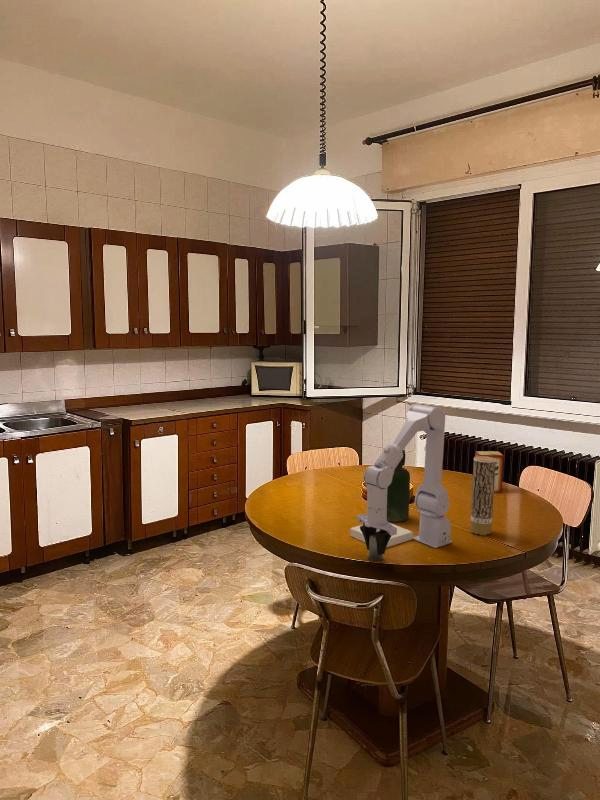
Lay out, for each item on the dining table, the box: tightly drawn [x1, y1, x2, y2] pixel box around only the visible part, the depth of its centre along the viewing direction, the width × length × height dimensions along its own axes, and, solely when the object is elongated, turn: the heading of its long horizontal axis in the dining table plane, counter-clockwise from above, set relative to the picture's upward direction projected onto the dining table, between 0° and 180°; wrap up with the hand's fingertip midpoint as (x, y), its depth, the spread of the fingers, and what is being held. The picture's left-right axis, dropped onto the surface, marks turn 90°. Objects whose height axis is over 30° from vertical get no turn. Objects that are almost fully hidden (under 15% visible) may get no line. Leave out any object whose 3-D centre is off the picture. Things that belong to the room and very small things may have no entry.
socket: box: [349, 522, 414, 549], centre depth 194 cm, size 14×14×2 cm
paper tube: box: [469, 456, 496, 536], centre depth 197 cm, size 7×7×25 cm
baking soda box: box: [474, 450, 505, 494], centre depth 245 cm, size 10×6×16 cm
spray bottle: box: [386, 448, 411, 523], centre depth 211 cm, size 10×10×25 cm
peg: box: [368, 533, 384, 562], centre depth 177 cm, size 4×4×7 cm
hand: (375, 551), depth 177 cm, fingers closed on peg, 4 cm apart
